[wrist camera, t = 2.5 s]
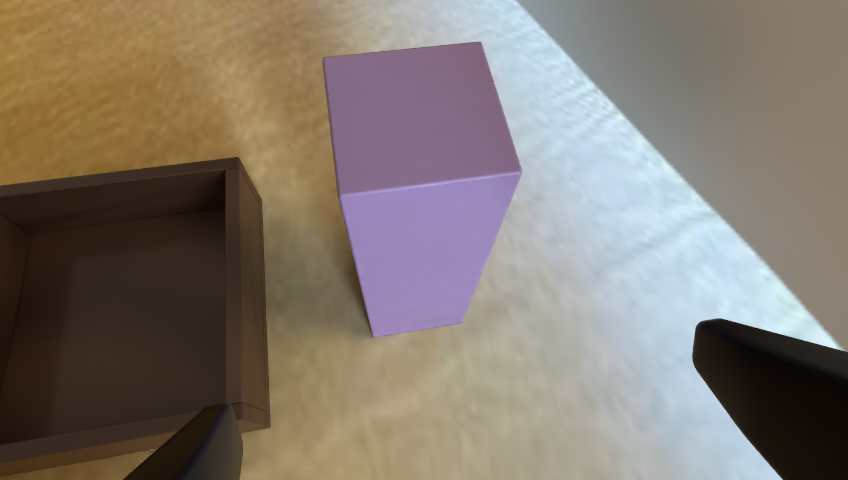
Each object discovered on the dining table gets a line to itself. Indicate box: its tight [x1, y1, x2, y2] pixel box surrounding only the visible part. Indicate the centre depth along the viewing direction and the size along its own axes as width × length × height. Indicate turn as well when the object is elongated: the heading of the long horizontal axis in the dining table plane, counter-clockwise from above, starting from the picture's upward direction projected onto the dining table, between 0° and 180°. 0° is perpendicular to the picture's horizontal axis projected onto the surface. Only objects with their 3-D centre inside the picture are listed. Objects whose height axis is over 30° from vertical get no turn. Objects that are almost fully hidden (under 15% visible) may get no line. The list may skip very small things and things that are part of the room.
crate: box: [0, 157, 270, 477], centre depth 20 cm, size 11×11×4 cm
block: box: [322, 42, 522, 337], centre depth 17 cm, size 4×4×13 cm
